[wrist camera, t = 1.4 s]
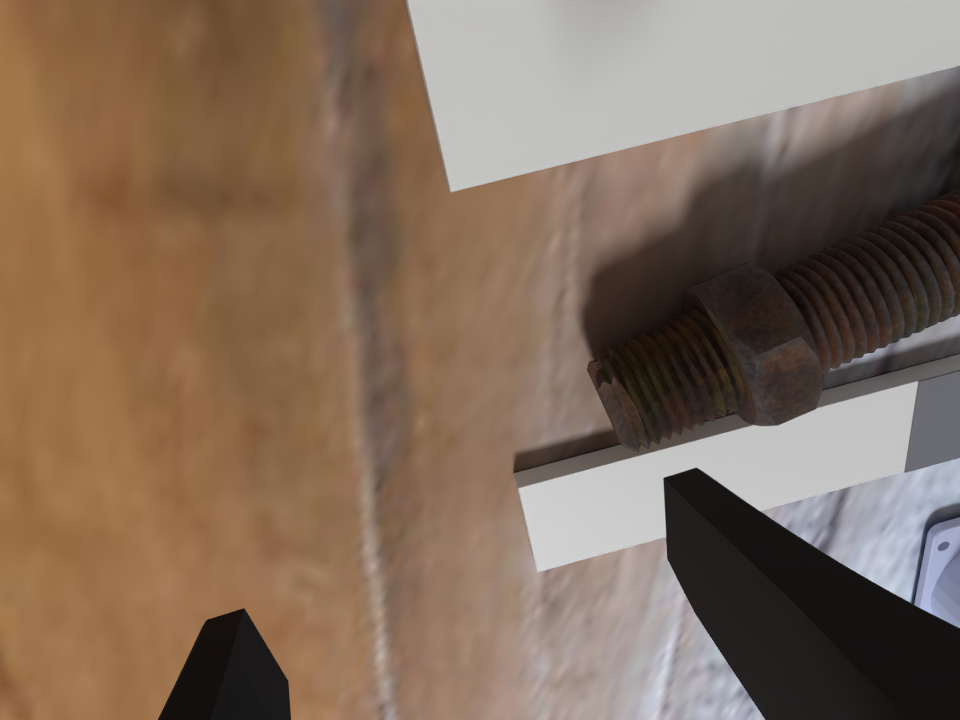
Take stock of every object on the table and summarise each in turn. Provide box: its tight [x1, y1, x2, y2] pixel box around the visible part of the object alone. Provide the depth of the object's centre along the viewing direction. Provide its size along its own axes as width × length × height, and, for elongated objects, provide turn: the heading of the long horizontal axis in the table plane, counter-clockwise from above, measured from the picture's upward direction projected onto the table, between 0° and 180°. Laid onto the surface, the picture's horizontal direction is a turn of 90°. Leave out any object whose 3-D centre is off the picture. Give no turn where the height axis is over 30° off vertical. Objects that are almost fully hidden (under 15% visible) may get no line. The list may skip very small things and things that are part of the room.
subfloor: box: [405, 0, 960, 572], centre depth 18 cm, size 24×28×1 cm
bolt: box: [587, 188, 960, 453], centre depth 19 cm, size 6×5×15 cm
